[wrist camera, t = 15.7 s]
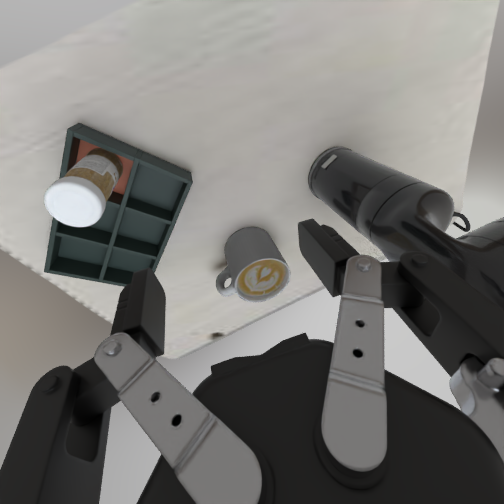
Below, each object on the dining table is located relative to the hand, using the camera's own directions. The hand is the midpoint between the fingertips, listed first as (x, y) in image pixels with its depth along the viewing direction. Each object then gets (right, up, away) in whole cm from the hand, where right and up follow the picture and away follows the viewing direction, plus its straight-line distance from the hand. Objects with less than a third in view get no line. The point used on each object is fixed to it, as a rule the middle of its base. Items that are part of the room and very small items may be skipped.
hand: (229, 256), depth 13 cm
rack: (-20, +6, +25) cm, 32 cm away
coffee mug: (-1, 0, +36) cm, 36 cm away
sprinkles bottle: (-19, +12, +20) cm, 30 cm away
